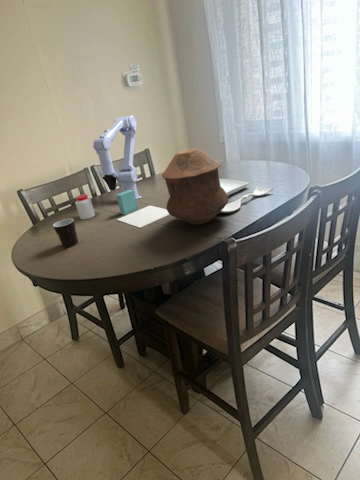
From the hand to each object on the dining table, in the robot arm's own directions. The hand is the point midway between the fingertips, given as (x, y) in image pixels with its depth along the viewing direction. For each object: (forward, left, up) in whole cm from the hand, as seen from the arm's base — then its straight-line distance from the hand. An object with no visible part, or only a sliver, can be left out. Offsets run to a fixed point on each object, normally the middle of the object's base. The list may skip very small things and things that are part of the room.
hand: (112, 189), depth 177 cm
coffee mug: (+21, -37, -11) cm, 43 cm away
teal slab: (+11, 0, -11) cm, 15 cm away
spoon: (+57, +33, -11) cm, 67 cm away
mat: (+25, 0, -10) cm, 27 cm away
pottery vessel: (+54, +8, -11) cm, 55 cm away
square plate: (+33, +37, -11) cm, 51 cm away
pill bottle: (-6, -15, -11) cm, 19 cm away
